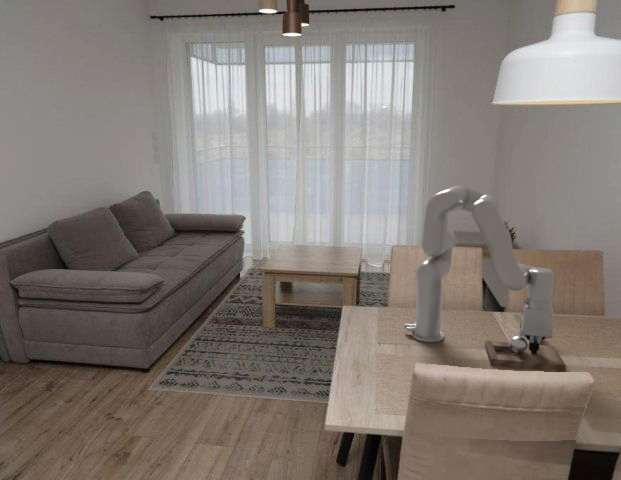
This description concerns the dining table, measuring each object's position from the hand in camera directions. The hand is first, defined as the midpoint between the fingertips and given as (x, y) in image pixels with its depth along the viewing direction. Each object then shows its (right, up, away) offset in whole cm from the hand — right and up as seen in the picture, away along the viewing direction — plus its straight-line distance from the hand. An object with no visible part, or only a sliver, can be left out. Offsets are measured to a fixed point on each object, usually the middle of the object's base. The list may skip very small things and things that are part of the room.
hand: (533, 351), depth 174 cm
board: (-3, -3, +1) cm, 4 cm away
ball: (-5, +3, 0) cm, 6 cm away
